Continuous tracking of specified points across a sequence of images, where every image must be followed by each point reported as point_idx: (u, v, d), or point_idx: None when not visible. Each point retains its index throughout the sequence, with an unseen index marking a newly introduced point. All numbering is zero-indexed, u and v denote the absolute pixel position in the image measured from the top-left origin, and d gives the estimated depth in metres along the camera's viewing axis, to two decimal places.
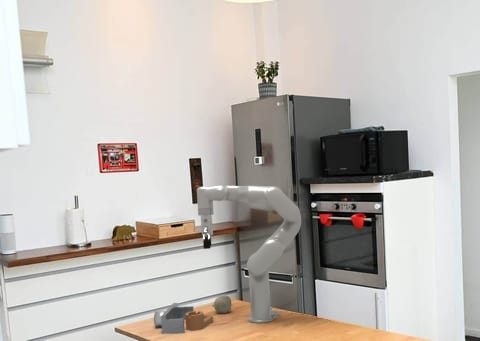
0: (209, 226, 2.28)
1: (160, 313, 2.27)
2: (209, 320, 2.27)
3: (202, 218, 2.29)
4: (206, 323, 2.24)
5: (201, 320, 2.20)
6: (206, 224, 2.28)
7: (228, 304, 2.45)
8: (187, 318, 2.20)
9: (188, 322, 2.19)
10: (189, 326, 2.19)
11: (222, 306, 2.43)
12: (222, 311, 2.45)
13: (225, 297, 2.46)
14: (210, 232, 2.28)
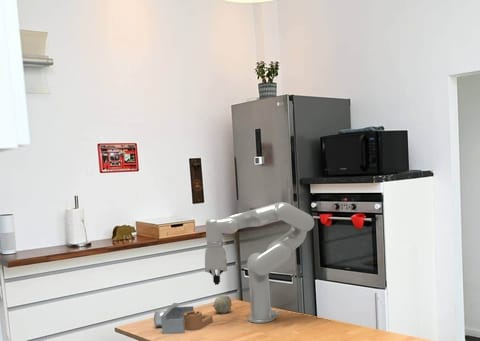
0: None
1: (160, 313, 2.27)
2: (207, 320, 2.27)
3: (223, 251, 2.26)
4: (204, 323, 2.24)
5: (199, 320, 2.20)
6: None
7: (228, 304, 2.45)
8: (185, 318, 2.20)
9: (186, 322, 2.20)
10: (187, 326, 2.19)
11: (222, 306, 2.43)
12: (222, 311, 2.45)
13: (225, 297, 2.46)
14: (226, 264, 2.29)
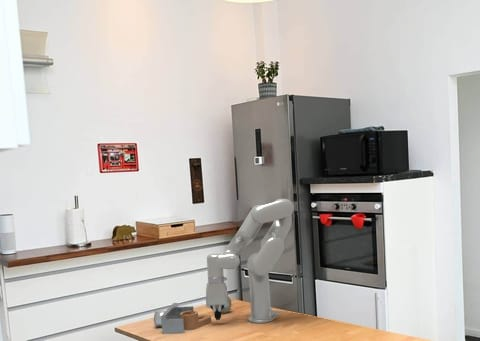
0: (227, 293, 2.28)
1: (160, 313, 2.27)
2: (204, 320, 2.27)
3: (224, 286, 2.25)
4: (201, 323, 2.24)
5: (194, 320, 2.21)
6: None
7: None
8: (180, 317, 2.22)
9: None
10: None
11: None
12: (222, 311, 2.45)
13: None
14: (227, 299, 2.28)
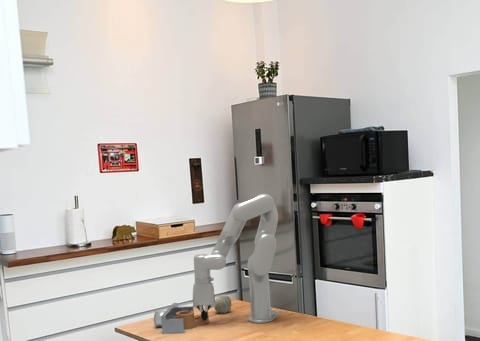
0: None
1: (160, 313, 2.27)
2: (201, 320, 2.27)
3: (211, 286, 2.26)
4: (197, 323, 2.25)
5: (190, 320, 2.22)
6: (213, 292, 2.27)
7: (228, 304, 2.45)
8: (176, 317, 2.23)
9: None
10: None
11: (222, 306, 2.43)
12: (222, 311, 2.45)
13: (225, 297, 2.46)
14: (214, 299, 2.29)
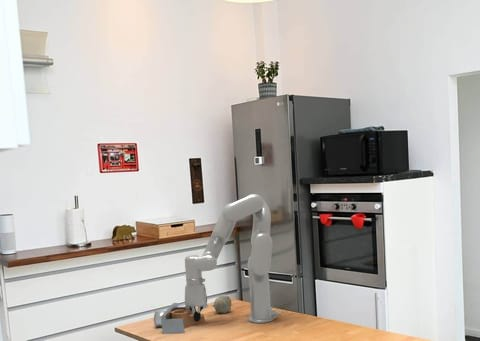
0: None
1: (160, 313, 2.27)
2: None
3: (203, 287, 2.26)
4: (192, 322, 2.27)
5: (184, 319, 2.24)
6: (205, 293, 2.28)
7: (228, 304, 2.45)
8: (171, 316, 2.25)
9: None
10: None
11: (222, 306, 2.43)
12: (222, 311, 2.45)
13: (225, 297, 2.46)
14: None
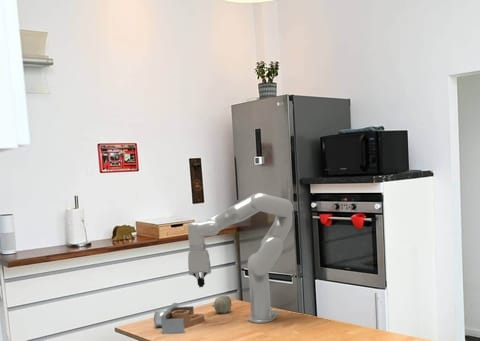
0: (209, 260, 2.29)
1: (160, 313, 2.27)
2: (196, 319, 2.29)
3: (206, 253, 2.27)
4: (192, 322, 2.27)
5: (185, 319, 2.24)
6: (209, 258, 2.28)
7: (228, 304, 2.45)
8: (172, 316, 2.25)
9: None
10: None
11: (222, 306, 2.43)
12: (222, 311, 2.45)
13: (225, 297, 2.46)
14: (210, 266, 2.30)
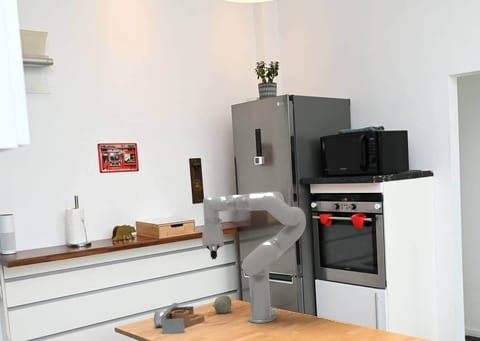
0: None
1: (160, 313, 2.27)
2: (196, 319, 2.29)
3: (220, 227, 2.37)
4: (192, 323, 2.27)
5: (184, 319, 2.24)
6: (222, 232, 2.39)
7: (228, 304, 2.45)
8: (171, 316, 2.25)
9: None
10: None
11: (222, 306, 2.43)
12: (222, 311, 2.45)
13: (225, 297, 2.46)
14: (223, 240, 2.40)
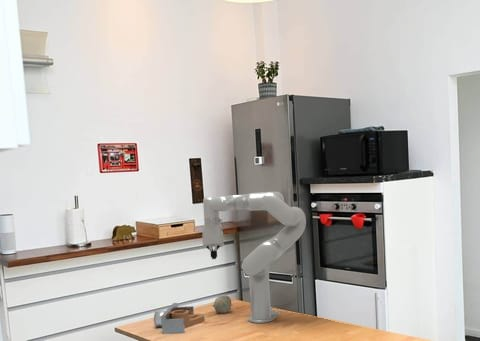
0: None
1: (160, 313, 2.27)
2: (196, 319, 2.29)
3: (220, 227, 2.37)
4: (192, 322, 2.27)
5: (184, 319, 2.24)
6: (222, 232, 2.39)
7: (228, 304, 2.45)
8: (171, 316, 2.25)
9: None
10: None
11: (222, 306, 2.43)
12: (222, 311, 2.45)
13: (225, 297, 2.46)
14: (223, 240, 2.40)
